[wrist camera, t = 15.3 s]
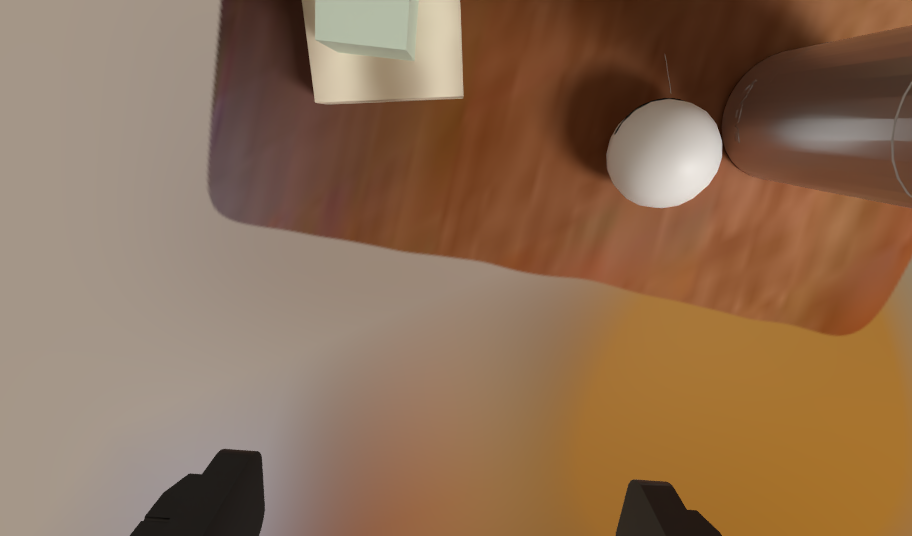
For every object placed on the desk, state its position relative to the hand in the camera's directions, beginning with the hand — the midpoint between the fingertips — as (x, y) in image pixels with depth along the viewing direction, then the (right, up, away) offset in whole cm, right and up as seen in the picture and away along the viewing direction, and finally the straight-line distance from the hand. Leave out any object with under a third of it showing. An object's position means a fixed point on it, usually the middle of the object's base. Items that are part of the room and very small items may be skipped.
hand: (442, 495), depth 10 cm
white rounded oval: (+15, +15, +25) cm, 33 cm away
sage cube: (-5, +21, +19) cm, 29 cm away
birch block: (-4, +22, +23) cm, 32 cm away
